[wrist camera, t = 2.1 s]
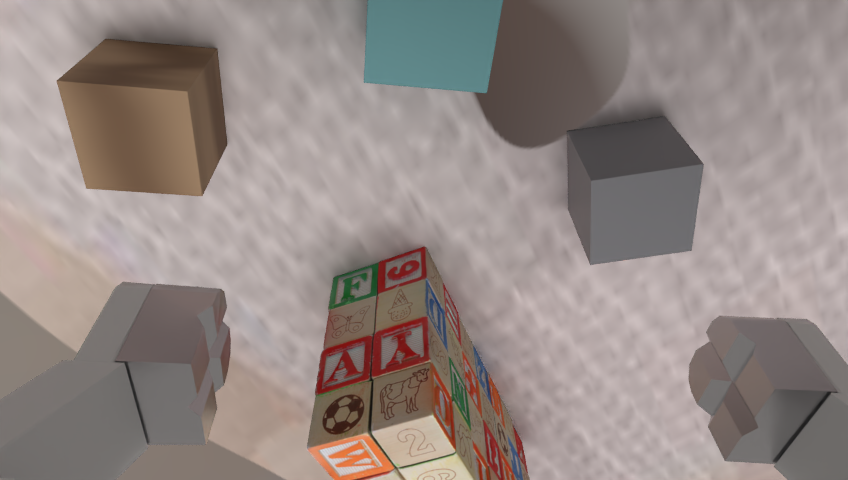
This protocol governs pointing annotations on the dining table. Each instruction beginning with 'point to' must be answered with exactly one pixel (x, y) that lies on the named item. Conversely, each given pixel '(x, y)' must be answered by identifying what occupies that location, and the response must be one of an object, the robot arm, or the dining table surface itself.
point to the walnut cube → (146, 116)
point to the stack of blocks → (406, 384)
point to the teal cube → (431, 43)
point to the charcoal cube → (632, 189)
